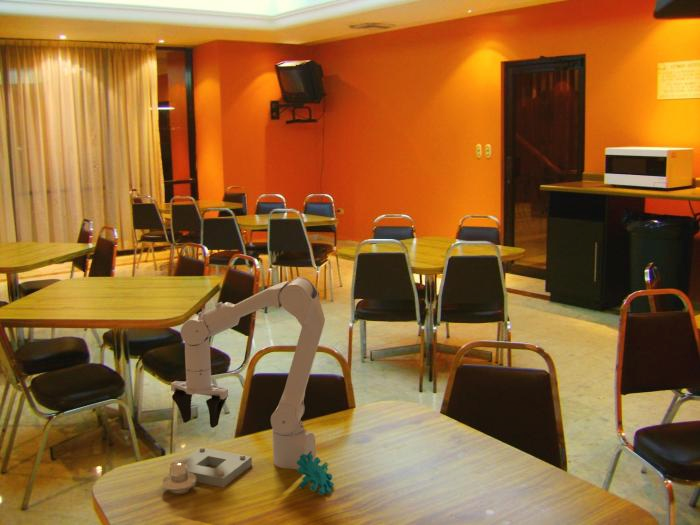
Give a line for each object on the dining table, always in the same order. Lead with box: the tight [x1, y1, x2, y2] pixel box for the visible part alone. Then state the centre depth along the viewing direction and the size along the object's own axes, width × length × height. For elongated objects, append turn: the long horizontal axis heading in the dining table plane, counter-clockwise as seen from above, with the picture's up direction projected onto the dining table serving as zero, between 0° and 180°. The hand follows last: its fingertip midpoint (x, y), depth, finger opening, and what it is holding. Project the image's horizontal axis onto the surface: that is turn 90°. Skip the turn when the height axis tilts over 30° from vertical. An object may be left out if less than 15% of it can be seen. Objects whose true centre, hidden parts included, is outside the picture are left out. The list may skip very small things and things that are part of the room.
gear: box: [297, 453, 335, 496], centre depth 165 cm, size 11×6×10 cm
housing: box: [169, 446, 253, 488], centre depth 172 cm, size 14×12×4 cm
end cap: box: [162, 459, 198, 495], centre depth 163 cm, size 7×7×6 cm
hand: (200, 423), depth 178 cm, fingers open, 7 cm apart
